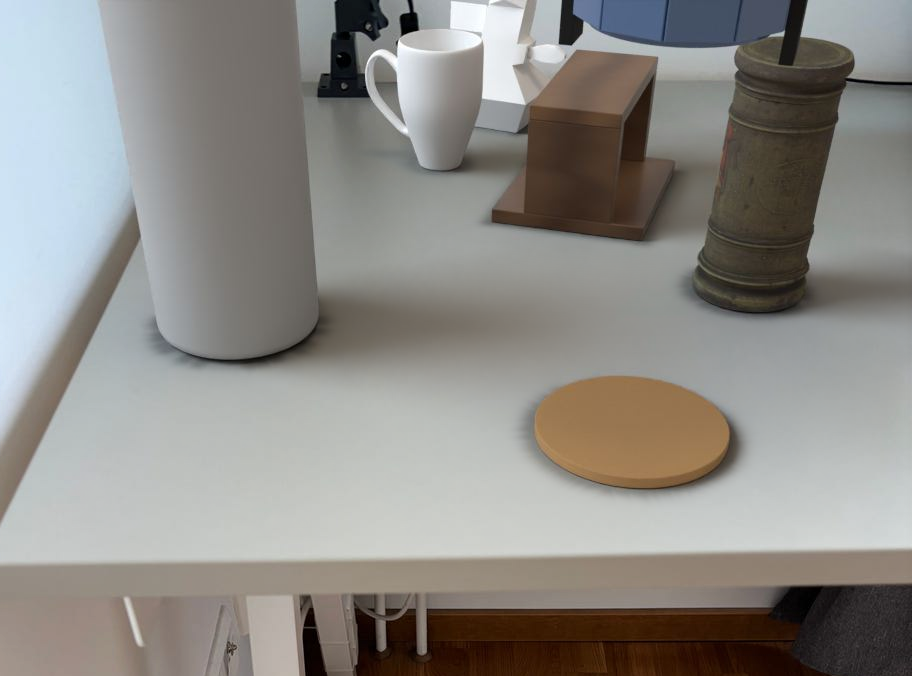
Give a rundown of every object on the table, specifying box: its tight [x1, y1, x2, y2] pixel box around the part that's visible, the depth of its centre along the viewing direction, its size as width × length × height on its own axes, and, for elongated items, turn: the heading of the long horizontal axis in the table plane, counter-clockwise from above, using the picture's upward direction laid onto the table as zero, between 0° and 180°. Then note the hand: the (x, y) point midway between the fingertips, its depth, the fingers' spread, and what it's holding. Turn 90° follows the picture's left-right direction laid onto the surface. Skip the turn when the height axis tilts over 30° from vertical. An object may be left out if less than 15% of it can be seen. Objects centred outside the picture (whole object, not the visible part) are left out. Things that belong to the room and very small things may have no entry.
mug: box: [364, 28, 484, 171], centre depth 108 cm, size 12×8×11 cm
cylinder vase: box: [97, 0, 320, 361], centre depth 77 cm, size 12×12×25 cm
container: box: [691, 35, 856, 313], centre depth 84 cm, size 9×9×18 cm
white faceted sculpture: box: [449, 0, 568, 134], centre depth 117 cm, size 8×14×14 cm, turn 64°
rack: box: [491, 48, 676, 242], centre depth 102 cm, size 14×18×10 cm
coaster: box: [533, 375, 731, 489], centre depth 73 cm, size 13×13×1 cm
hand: (676, 49), depth 60 cm, fingers closed on bowl, 11 cm apart
